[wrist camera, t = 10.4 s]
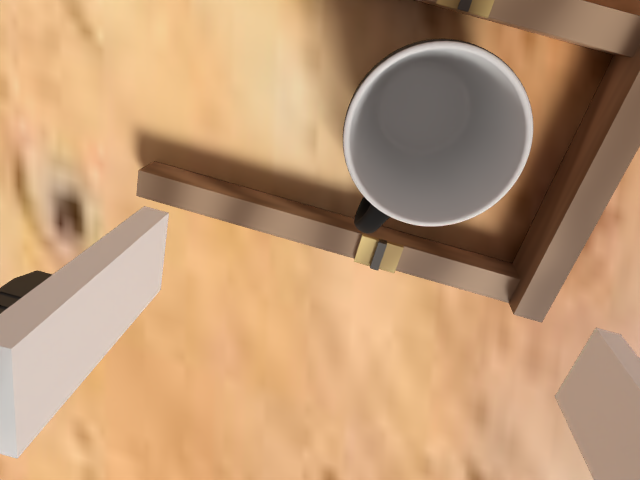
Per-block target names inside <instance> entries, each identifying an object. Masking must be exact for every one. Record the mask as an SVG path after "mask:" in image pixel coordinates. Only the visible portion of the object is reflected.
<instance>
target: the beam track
mask: <svg viewBox="0 0 640 480" xmlns="http://www.w3.org/2000/svg"><path fill="white" fill-rule="evenodd" d="M416 1H420V2H424V3H427V4H431V5H434V6H438V7H442V8H445V9H449V10H453V11H456V12H460V13H463V14H467V15H471V16H474V17H478V18H481V19H485V20H489V21H492V22H496V23H500V24H503V25H507V26H510V27H514V28H518V29H521V30H525V31H529V32H532V33H536V34H539V35H543V36H547V37H550V38H554V39H558V40H561V41H565V42H568V43H572V44H576V45H579V46H583V47H586V48H590V49H594V50H597V51H601V52H605V53H608V54H612V55H614V56H613V58H612V60H611V62H610V64H609V66H608V68H607V70H606V72H605V74H604V76H603V79H602V81H601V83H600V85H599V87H598V89H597V91H596V93H595V95H594V97H593V99H592V101H591V103H590V105H589V107H588V109H587V111H586V113H585V115H584V117H583V120H582V122H581V124H580V126H579V128H578V130H577V132H576V134H575V136H574V138H573V140H572V142H571V144H570V146H569V148H568V150H567V152H566V154H565V156H564V159H563V161H562V163H561V165H560V167H559V169H558V171H557V173H556V175H555V177H554V179H553V181H552V183H551V185H550V187H549V189H548V191H547V193H546V195H545V197H544V200H543V202H542V204H541V206H540V208H539V210H538V212H537V214H536V216H535V218H534V220H533V222H532V224H531V226H530V228H529V230H528V232H527V234H526V236H525V239H524V241H523V243H522V245H521V247H520V249H519V251H518V253H517V255H516V257H515V259H514V261H513V263H508V262H505V261H501V260H498V259H494V258H491V257H487V256H484V255H480V254H477V253H473V252H470V251H466V250H463V249H459V248H456V247H452V246H449V245H445V244H442V243H438V242H435V241H431V240H428V239H425V238H421V237H418V236H414V235H411V234H407V233H404V232H400V231H397V230H393V229H390V228H386V227H383V226H380V227H379V228H378V229H377V230H376V231H375V232H373V233H370V234H368V233H363V232H361V231H360V230H358V229H357V228H356V226H355V224H354V219H355V218H351V217H348V216H344V215H341V214H337V213H334V212H330V211H327V210H323V209H320V208H316V207H313V206H309V205H306V204H302V203H299V202H295V201H292V200H288V199H285V198H281V197H278V196H274V195H271V194H267V193H264V192H260V191H257V190H253V189H250V188H246V187H243V186H239V185H236V184H232V183H229V182H225V181H222V180H218V179H215V178H211V177H208V176H204V175H201V174H197V173H194V172H190V171H187V170H183V169H180V168H176V167H173V166H169V165H166V164H162V163H159V162H155V161H154V162H152V163H150V164H149V165H147V166H145V167H143V168H142V169H140V170H139V171H138V183H137V195H136V196H139V197H142V198H146V199H149V200H153V201H156V202H160V203H163V204H166V205H170V206H173V207H177V208H180V209H184V210H187V211H191V212H194V213H198V214H201V215H205V216H208V217H212V218H215V219H219V220H222V221H226V222H229V223H233V224H236V225H239V226H243V227H246V228H250V229H253V230H257V231H260V232H264V233H267V234H271V235H274V236H278V237H281V238H285V239H288V240H292V241H295V242H299V243H302V244H306V245H309V246H312V247H316V248H319V249H323V250H326V251H330V252H333V253H337V254H340V255H344V256H347V257H351V258H354V262H357V263H360V264H364V265H367V266H370V268H371V269H374V270H378V269H381V270H385V271H388V272H392V273H395V270H396V271H399V272H403V273H406V274H410V275H413V276H417V277H420V278H424V279H427V280H431V281H434V282H438V283H441V284H445V285H448V286H451V287H455V288H458V289H462V290H465V291H469V292H472V293H476V294H479V295H483V296H486V297H490V298H493V299H497V300H500V301H504V302H507V303H509V305H510V307H511V309H512V312H513V314H514V315H517V316H521V317H524V318H528V319H531V320H535V321H538V322H543V320H544V318H545V316H546V314H547V313H548V311H549V309H550V307H551V305H552V303H553V302H554V300H555V298H556V296H557V294H558V293H559V291H560V289H561V287H562V285H563V284H564V282H565V280H566V278H567V276H568V275H569V273H570V271H571V269H572V267H573V266H574V264H575V262H576V260H577V258H578V256H579V255H580V253H581V251H582V249H583V247H584V246H585V244H586V242H587V240H588V238H589V237H590V235H591V233H592V231H593V229H594V228H595V226H596V224H597V222H598V220H599V219H600V217H601V215H602V213H603V211H604V209H605V208H606V206H607V204H608V202H609V200H610V199H611V197H612V195H613V193H614V191H615V190H616V188H617V186H618V184H619V182H620V181H621V179H622V177H623V175H624V173H625V172H626V170H627V168H628V166H629V164H630V163H631V161H632V159H633V157H634V155H635V153H636V152H637V150H638V148H639V146H640V16H638V15H634V14H630V13H627V12H623V11H620V10H616V9H612V8H609V7H605V6H601V5H598V4H594V3H590V2H587V1H583V0H416Z"/></svg>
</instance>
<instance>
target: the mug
mask: <svg viewBox="0 0 640 480" xmlns="http://www.w3.org/2000/svg"><path fill="white" fill-rule="evenodd" d="M532 138H533V116H532V110H531V106H530V102H529V99H528V96H527V94H526V91H525V89H524V87H523V85H522V83H521V82H520V80H519V78H518V77H517V76H516V74H515V73H514V72H513V71H512V69H511V68H510V67H509V66H508V65H507V64H506V63H505V62H504V61H502V60H501V59H500V58H499V57H497V56H496V55H494V54H493V53H491V52H489V51H487V50H486V49H484V48H482V47H479V46H477V45H474V44H471V43H468V42H464V41H459V40H452V39H432V40H425V41H420V42H416V43H413V44H410V45H407V46H405V47H402V48H400V49H398V50H396V51H394V52H393V53H391V54H389V55H388V56H387V57H385V58H384V59H382V60H381V61H380V62H379V63H378V64H377V65H375V66H374V67H373V68H372V69H371V71H370V72H369V73H368V74H367V75H366V76H365V78H364V79H363V80H362V81H361V83H360V85H359V86H358V88H357V89H356V91H355V93H354V95H353V97H352V99H351V102H350V104H349V107H348V110H347V114H346V117H345V122H344V128H343V150H344V156H345V161H346V164H347V167H348V171H349V173H350V175H351V177H352V180H353V181H354V183H355V185H356V187H357V188H358V189H359V191H360V192H361V194H362V195H363V196H364V197H363V199H362V201H361V203H360V205H359V207H358V210H357V212H356V215H355V219H354V224H355V226H356V228H357V229H358V230H360V231H361V232H363V233H368V234H370V233H373V232H375V231H376V230H377V229H378V228H379V227H380V226H381V225H382V224H383V223H384V222H385V221H386V220H387V219H388V218H390V217H392V218H394V219H396V220H399V221H401V222H405V223H408V224H413V225H418V226H445V225H451V224H455V223H459V222H462V221H465V220H468V219H470V218H473V217H475V216H477V215H479V214H481V213H482V212H484V211H486V210H487V209H489V208H490V207H492V206H493V205H494V204H495V203H497V202H498V201H499V200H500V199H501V198H502V197H503V196H504V195H505V194H506V193H507V192H508V191H509V190H510V189H511V188H512V186H513V185H514V183H515V182H516V181H517V179H518V178H519V176H520V174H521V172H522V171H523V168H524V166H525V164H526V162H527V159H528V156H529V153H530V149H531V145H532Z"/></svg>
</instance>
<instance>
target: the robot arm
mask: <svg viewBox="0 0 640 480" xmlns="http://www.w3.org/2000/svg"><path fill="white" fill-rule="evenodd" d="M168 216H169V213H168V212H164V211H160V210H156V209H153V208H149V207H145V206H144V207H142V208H141V209H140V210H138V211H137V212H136V213H134V214H133V215H132V216H130V217H129V218H128V219H126V220H125V221H124V222H122V223H121V224H120V225H118V226H117V227H116V228H114V229H113V230H112V231H110V232H109V233H108V234H106V235H105V236H104V237H102V238H101V239H100V240H98V241H97V242H96V243H94V244H93V245H92V246H90V247H89V248H88V249H86V250H85V251H84V252H82V253H81V254H80V255H78V256H77V257H76V258H74V259H73V260H72V261H70V262H69V263H68V264H66V265H65V266H64V267H62V268H61V269H59V270H58V271H57V272H55V273H54V274H53V275H52V274H48V273H45V272H41V271H34V272H32V273H29V274H26V275H23V276H20V277H17V278H14V279H13V280H11V281H10V282H8V283H7V284H5V285H4V286H2V287H1V288H0V454H3V455H6V456H10V457H14V458H18V457H19V456H20V455H21V454H22V453H23V451H24V450H25V449H26V448H27V447H28V445H29V444H30V443H31V442H32V441H33V440H34V438H35V437H36V436H37V435H38V434H39V433H40V431H41V430H42V429H43V428H44V427H45V425H46V424H47V423H48V422H49V421H50V420H51V418H52V417H53V416H54V415H55V414H56V412H57V411H58V410H59V409H60V408H61V407H62V405H63V404H64V403H65V402H66V401H67V399H68V398H69V397H70V396H71V395H72V394H73V392H74V391H75V390H76V389H77V388H78V387H79V385H80V384H81V383H82V382H83V381H84V379H85V378H86V377H87V376H88V375H89V374H90V372H91V371H92V370H93V369H94V368H95V366H96V365H97V364H98V363H99V362H100V361H101V359H102V358H103V357H104V356H105V355H106V354H107V352H108V351H109V350H110V349H111V348H112V346H113V345H114V344H115V343H116V342H117V341H118V339H119V338H120V337H121V336H122V335H123V333H124V332H125V331H126V330H127V329H128V328H129V326H130V325H131V324H132V323H133V322H134V320H135V319H136V318H137V317H138V316H139V315H140V313H141V312H142V311H143V310H144V309H145V308H146V306H147V305H148V304H149V303H150V302H151V300H152V299H153V298H154V297H155V296H156V295H157V293H158V292H159V291H160V290H161V282H162V272H163V263H164V254H165V244H166V235H167V226H168ZM555 398H556V400H557V402H558V405H559V407H560V409H561V411H562V413H563V415H564V417H565V419H566V422H567V424H568V426H569V428H570V430H571V432H572V434H573V436H574V439H575V441H576V443H577V445H578V447H579V449H580V451H581V454H582V456H583V458H584V460H585V462H586V464H587V466H588V468H589V471H590V473H591V475H592V477H593V479H594V480H640V358H639V357H638V356H637V354H636V353H635V352H634V351H633V349H632V348H631V347H630V346H629V344H628V343H627V342H626V340H625V339H624V338H623V337H622V335H621V334H618V333H614V332H610V331H606V330H603V329H599V328H595V329H594V331H593V333H592V335H591V336H590V338H589V340H588V341H587V343H586V345H585V346H584V348H583V350H582V351H581V353H580V355H579V356H578V358H577V360H576V361H575V363H574V365H573V366H572V368H571V370H570V371H569V373H568V375H567V376H566V378H565V380H564V381H563V383H562V385H561V387H560V388H559V390H558V392H557V393H556V395H555Z"/></svg>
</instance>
